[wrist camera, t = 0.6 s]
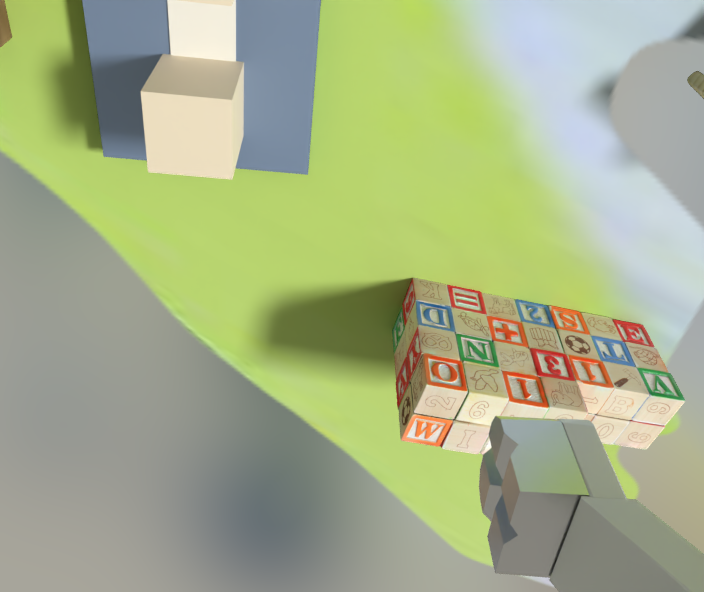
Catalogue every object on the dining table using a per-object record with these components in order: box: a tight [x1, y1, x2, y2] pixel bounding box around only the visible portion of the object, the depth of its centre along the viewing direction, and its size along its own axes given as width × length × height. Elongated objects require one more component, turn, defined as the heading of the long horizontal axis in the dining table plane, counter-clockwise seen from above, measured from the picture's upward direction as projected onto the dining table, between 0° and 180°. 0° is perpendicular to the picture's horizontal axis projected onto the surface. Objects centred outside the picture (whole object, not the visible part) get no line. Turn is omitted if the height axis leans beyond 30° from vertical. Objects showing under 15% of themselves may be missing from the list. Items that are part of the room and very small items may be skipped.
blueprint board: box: [82, 0, 321, 179], centre depth 38 cm, size 20×14×8 cm
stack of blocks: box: [392, 278, 685, 455], centre depth 54 cm, size 21×6×12 cm, turn 76°
